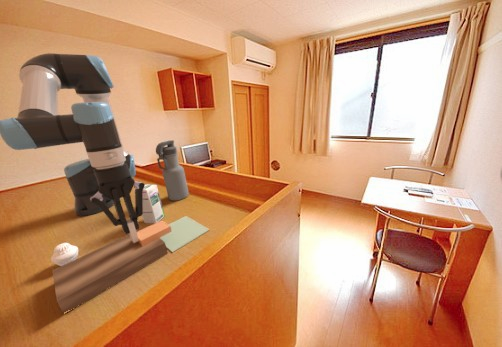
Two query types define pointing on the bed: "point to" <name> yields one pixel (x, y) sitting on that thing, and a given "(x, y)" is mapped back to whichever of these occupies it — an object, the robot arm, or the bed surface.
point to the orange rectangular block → (153, 232)
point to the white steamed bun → (64, 254)
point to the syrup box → (152, 204)
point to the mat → (183, 233)
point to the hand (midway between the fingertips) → (135, 240)
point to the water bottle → (172, 171)
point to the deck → (102, 269)
